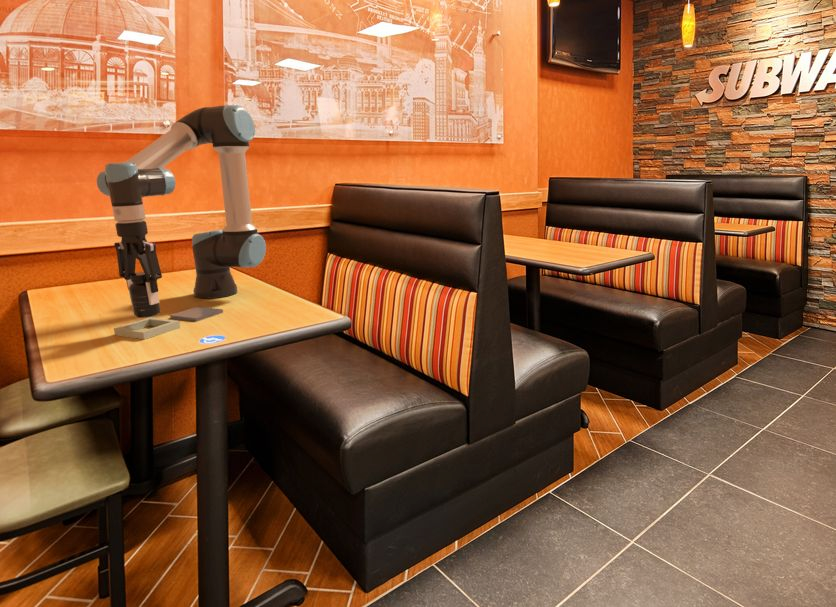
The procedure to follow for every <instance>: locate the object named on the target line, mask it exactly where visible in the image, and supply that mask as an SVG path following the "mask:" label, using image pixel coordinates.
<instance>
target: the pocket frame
mask: <svg viewBox="0 0 836 607" xmlns="http://www.w3.org/2000/svg"><path fill="white" fill-rule="evenodd" d="M147 326H148V327H150V326H152V327H151V328H148V329H145V330H143V329H144V328H147ZM180 328H181V325H180V320H177V319H166V318H160V317H159V318H158V317H153V316H151V317H145V318H142V319H141V320H137V321H134V322H131V323H126V324H123V325H120V326H117V327H114V328H113V331H114V336H118V337H126V338H131V339H137V338H138V339H139V340H144V339H145V340H148V339H150V337H151V338H153V336H154V337H156V335H157V336H160V335H163V334H165V332H166V333H168V331H169V332H171V331H174V330H177V329H180ZM162 333H163V334H162ZM159 334H160V335H159ZM147 338H148V339H147Z"/></svg>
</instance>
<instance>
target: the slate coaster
mask: <svg viewBox="0 0 836 607" xmlns="http://www.w3.org/2000/svg"><path fill="white" fill-rule="evenodd" d="M223 313H224V309H221V308H214V307H213V308H212V307H204V306H195V307H191V308H188V309H185V310H183V311H178V312H176V313H173V314H170V315H169V318H170V319H171V320H179V321H180V320H181V321H189V322H198V321H202V320H205V319H207V318H211V317H214V316H216V315H219V314H223Z"/></svg>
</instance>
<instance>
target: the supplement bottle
mask: <svg viewBox="0 0 836 607" xmlns="http://www.w3.org/2000/svg"><path fill="white" fill-rule="evenodd" d="M130 277H131V282H132V284H131V285H130V286H129V290H128V293H129V292H130V294H129V298H130V297H131V299H130V303H131V302H132V303H131V306H132V310H133V315H134V316H135V318H139V319H140V318H142V319H146V318H150V317H154V316H158V315H159V314H160V313H161V307H160V302H159V303H156V304H153V305H150V304H149V299H148V293H147V288H146V282H145V281H146V280H147V278H146V276H145V273H144V271H139V272H135V273H134V274H131V275H130Z"/></svg>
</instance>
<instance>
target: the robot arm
mask: <svg viewBox="0 0 836 607" xmlns="http://www.w3.org/2000/svg"><path fill="white" fill-rule="evenodd" d="M255 135H256V126H255V123H254V119H253V117H252V116H251V114H250V113H249V111H248V110H247V109H246V108H245V107H243V106H241V105H234V104H228V105H227V104H226V105H218V106H206V107H205V106H204V107H200V108H197V109H195V110H193V111H191V112H189V113H187V114H186V115H184V116H182V117H181V118H180V119H178V120H177V121H175V122H174V123H172V125H171V126H170V130H169V131H168V130H167V132H166V133H164V134H162V135H161V136H160V137H158V138H157V139H155V140H154V141H153V142H152V143H150V144H149V145H147V146H146V147H144V148H143V149H142V150H140V151H139V152H137V153H136V154H134V155H133V156H132V157H130V158H129V159H127V160H126V161H124V162H109V163H107V164H105V167H104V169H105V170H102V171H100V172H99V174H98V175H97V177H96V186H97V188H98V190H99V191H100V192H101V194H102V195H105V196H107V197H110V198H109V199H110V203H111V207H112V211H113V212H112V213H113V218H114V221H115V222H116V223H115V230H116V234H117V237H119V238H121V241H117V242H114V243H113V246H114V247H115V251H116V258H117V268H118V275H119V277H120V278H124V280H125V281H126V285H127V290H128V293H129V295H130V292H129V286H130V285H131V284H132V282H131V277H130V275H131V274H134V273H136V261H137V260H138V262H139V264H140V266H141V268H142V272H144V273H145V276H146V278H147V280H146V281H145V282H146V288H147V293H148V299H149V304H150V305H153V304H156V303H159V304H160V297H159V288H158V280H160V279H162V278H163V274H162V272H161V267H160V262H159V259H158V254H157V244H156V243H155V242H148V240H147V238H146V235H148V233H149V232H148V226H147V225H148V224H147V221H145V219H146V213H145V206H144V202H143V201H144V200H143V198H146V197H147V198H148V197H155V196H156V197H157V196H166V195H170V194H172V193H173V192H174V191H175V189H176V186H177V185H176V184H177V183H176V177H175V175H174V174H173V172H172V171H171V170H170V169H167V168H165V167H166V166H168V164H170V163H171V162H172V161H174V160H176V159H177V158H178V157H179V156H180V155H182V154H183V153H184V152H186V151H191V150H194V149H195V148H196V147H199V146H201V145H207V144H212V149H213V150H214V151H215V152H216V153H217V154H218V160H219V170H220V179H221V189H222V198H223V207H224V214H225V215H224V216H225V224H226V225H225V226H224V228H222V229H218V230H210V231H203V232H199V233H194V234H193V235H192V238H191V243H192V245H191V247H192V252H193V259H194V265H195V266H194V267H195V274H196V276H195V282H194V288H193V297H194V298H195V299H196V298H197V299H217V298H225V297H229V296H234V295H235V294H238V286H237V284H236V283H235V279H234V277H233V274H232V273H231V268H242V269H243V268H244V269H248V268H255V267H258V266H259V265H260V264H262V262H263V260H264V258H265V255H266V252H267V251H266V250H267V245H266V244H267V243H266V240H265V239H264V237H263V236H262V235H261V234H259V233H258V228H257V226H255V225H254V224H253V220H252V217H253V216H252V209H251V200H250V199H251V198H250V189H249V188H250V187H249V181H248V180H249V179H248V178H249V177H248V170H247V169H248V168H247V157H246V152H247V151H248V150H249V149H250V144H249V143H250V142H251V141H252V140H253V139H254V138H255ZM136 259H137V260H136ZM129 299H130V300H131V297H130V296H129ZM130 303H131V304H132V302H131V301H130Z"/></svg>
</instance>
